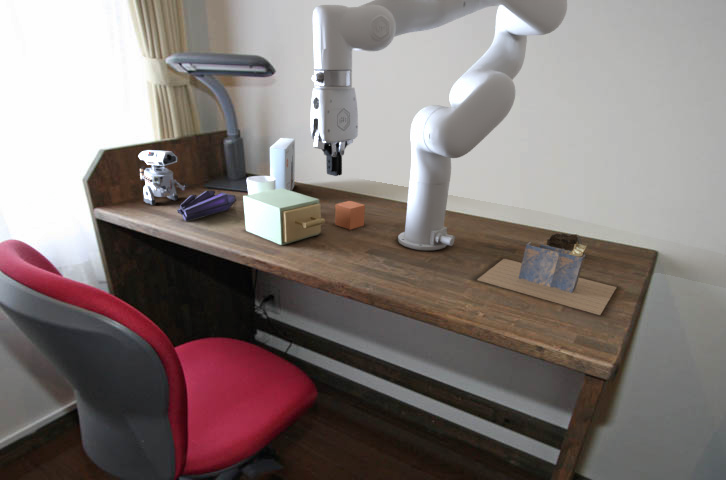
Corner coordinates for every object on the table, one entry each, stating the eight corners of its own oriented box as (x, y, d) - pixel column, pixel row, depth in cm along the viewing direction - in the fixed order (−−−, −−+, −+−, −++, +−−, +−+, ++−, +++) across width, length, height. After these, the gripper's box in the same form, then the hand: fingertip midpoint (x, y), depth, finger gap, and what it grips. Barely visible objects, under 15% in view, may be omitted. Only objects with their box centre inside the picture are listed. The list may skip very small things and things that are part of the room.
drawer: (332, 236, 119) (332, 208, 115) (298, 247, 112) (297, 217, 108) (287, 220, 129) (286, 193, 125) (252, 229, 122) (250, 200, 118)
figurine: (163, 209, 136) (154, 155, 129) (141, 201, 142) (131, 149, 135) (190, 203, 143) (183, 151, 135) (168, 196, 149) (160, 145, 141)
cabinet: (319, 234, 123) (319, 199, 118) (281, 245, 115) (279, 208, 110) (283, 221, 131) (282, 188, 127) (245, 230, 123) (242, 195, 119)
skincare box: (287, 201, 149) (285, 148, 140) (270, 201, 149) (267, 147, 140) (296, 185, 167) (295, 137, 159) (280, 185, 167) (278, 137, 159)
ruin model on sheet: (616, 287, 101) (632, 243, 96) (600, 315, 89) (616, 267, 84) (504, 258, 113) (512, 218, 108) (476, 279, 101) (484, 236, 96)
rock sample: (601, 238, 116) (584, 217, 112) (592, 264, 114) (575, 243, 110) (563, 244, 125) (545, 224, 120) (554, 268, 123) (536, 249, 119)
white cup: (244, 216, 134) (241, 180, 128) (256, 209, 140) (253, 174, 135) (270, 219, 132) (268, 183, 127) (281, 212, 139) (279, 177, 134)
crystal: (190, 202, 122) (245, 182, 135) (163, 199, 128) (218, 180, 141) (197, 229, 125) (251, 207, 139) (171, 224, 131) (224, 204, 145)
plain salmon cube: (364, 225, 131) (365, 205, 128) (349, 229, 127) (350, 208, 124) (349, 220, 134) (349, 200, 131) (335, 224, 130) (335, 204, 128)
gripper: (318, 82, 88) (321, 183, 97) (372, 79, 97) (369, 172, 106) (292, 80, 92) (297, 177, 101) (345, 78, 101) (345, 166, 111)
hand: (334, 174), depth 104 cm, fingers closed
